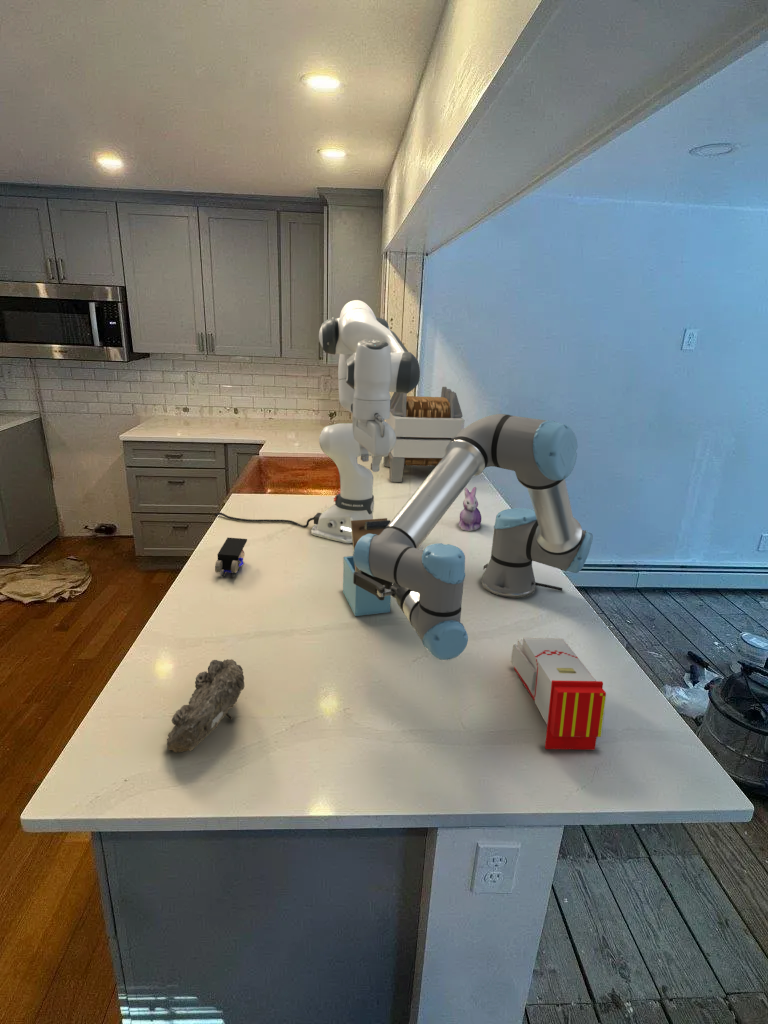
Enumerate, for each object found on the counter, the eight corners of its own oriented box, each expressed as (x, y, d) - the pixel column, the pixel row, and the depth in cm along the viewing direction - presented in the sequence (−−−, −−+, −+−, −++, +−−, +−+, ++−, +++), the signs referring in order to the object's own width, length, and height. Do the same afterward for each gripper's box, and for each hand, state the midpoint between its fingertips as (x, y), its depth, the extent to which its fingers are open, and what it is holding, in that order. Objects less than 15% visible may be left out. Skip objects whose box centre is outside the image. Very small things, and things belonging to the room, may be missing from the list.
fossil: (192, 660, 117) (244, 628, 112) (224, 691, 120) (276, 661, 115) (142, 746, 98) (202, 712, 93) (182, 779, 101) (242, 748, 96)
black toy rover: (238, 584, 162) (249, 557, 175) (236, 562, 158) (247, 536, 172) (215, 584, 161) (227, 556, 175) (212, 561, 158) (225, 535, 171)
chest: (342, 591, 158) (343, 556, 154) (375, 588, 160) (376, 553, 157) (355, 616, 145) (356, 578, 142) (390, 612, 148) (392, 575, 145)
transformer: (382, 463, 289) (386, 382, 275) (445, 464, 293) (451, 384, 279) (390, 482, 257) (394, 392, 243) (460, 483, 261) (468, 394, 247)
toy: (559, 621, 128) (615, 689, 99) (553, 675, 131) (607, 757, 102) (506, 620, 128) (547, 687, 99) (501, 674, 131) (540, 756, 101)
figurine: (467, 533, 203) (471, 493, 198) (451, 523, 211) (454, 485, 206) (488, 529, 207) (492, 490, 202) (471, 520, 215) (475, 482, 210)
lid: (350, 521, 144) (359, 516, 135) (386, 518, 146) (396, 514, 138) (355, 577, 142) (364, 576, 134) (391, 573, 145) (402, 572, 136)
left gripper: (397, 418, 128) (394, 476, 133) (372, 403, 146) (370, 455, 151) (370, 418, 126) (368, 478, 131) (348, 403, 144) (347, 456, 149)
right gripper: (358, 627, 110) (334, 578, 129) (475, 612, 117) (436, 568, 136) (359, 592, 107) (334, 548, 126) (478, 579, 114) (438, 539, 133)
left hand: (369, 465), depth 141 cm, fingers open, 8 cm apart
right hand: (387, 558), depth 131 cm, fingers open, 13 cm apart
